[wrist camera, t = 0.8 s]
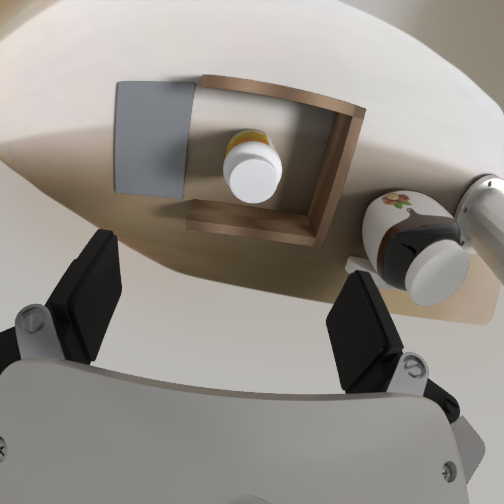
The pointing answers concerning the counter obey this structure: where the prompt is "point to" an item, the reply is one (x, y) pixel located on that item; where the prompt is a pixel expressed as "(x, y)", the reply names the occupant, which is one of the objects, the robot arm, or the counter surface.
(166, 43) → the counter surface
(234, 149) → the supplement bottle
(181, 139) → the slate mat
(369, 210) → the spread jar
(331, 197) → the open front box
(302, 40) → the counter surface
